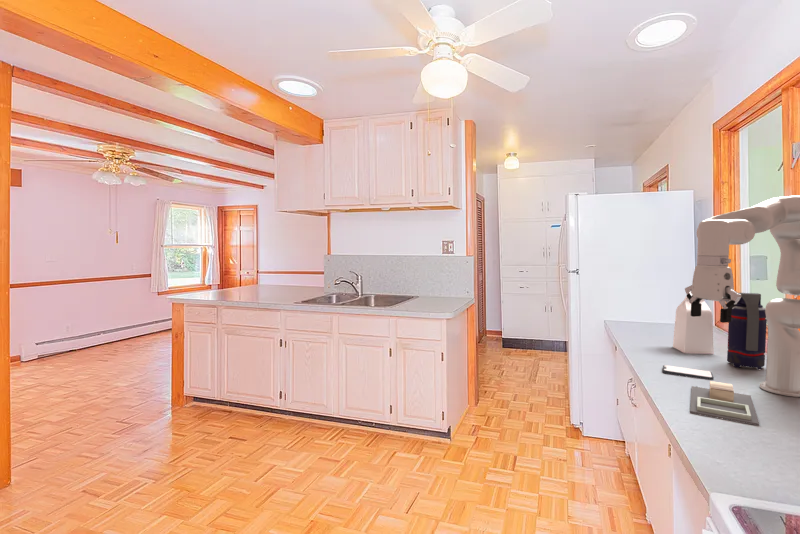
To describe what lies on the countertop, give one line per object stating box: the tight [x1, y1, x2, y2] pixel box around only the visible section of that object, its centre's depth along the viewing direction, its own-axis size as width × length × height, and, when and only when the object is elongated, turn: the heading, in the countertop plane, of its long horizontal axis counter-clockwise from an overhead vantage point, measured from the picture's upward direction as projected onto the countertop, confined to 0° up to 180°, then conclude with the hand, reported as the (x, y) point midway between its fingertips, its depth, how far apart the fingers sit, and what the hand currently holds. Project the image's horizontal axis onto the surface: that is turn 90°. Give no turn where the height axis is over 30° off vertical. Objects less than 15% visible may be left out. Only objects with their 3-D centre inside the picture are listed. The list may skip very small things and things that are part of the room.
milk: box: [672, 294, 715, 355], centre depth 198 cm, size 12×12×26 cm
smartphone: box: [662, 364, 714, 381], centre depth 165 cm, size 9×2×16 cm
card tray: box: [697, 397, 751, 420], centre depth 129 cm, size 13×10×1 cm
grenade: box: [726, 292, 767, 371], centre depth 173 cm, size 14×12×30 cm
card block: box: [709, 380, 735, 403], centre depth 139 cm, size 9×6×4 cm, turn 145°
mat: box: [689, 385, 760, 427], centre depth 134 cm, size 26×16×1 cm, turn 145°
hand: (710, 319), depth 128 cm, fingers open, 9 cm apart
